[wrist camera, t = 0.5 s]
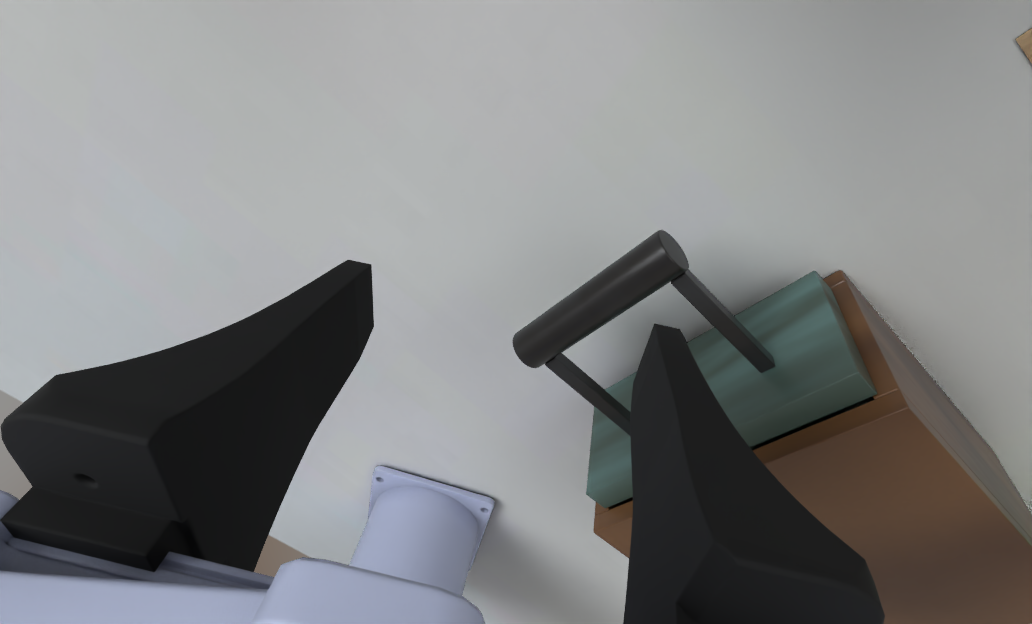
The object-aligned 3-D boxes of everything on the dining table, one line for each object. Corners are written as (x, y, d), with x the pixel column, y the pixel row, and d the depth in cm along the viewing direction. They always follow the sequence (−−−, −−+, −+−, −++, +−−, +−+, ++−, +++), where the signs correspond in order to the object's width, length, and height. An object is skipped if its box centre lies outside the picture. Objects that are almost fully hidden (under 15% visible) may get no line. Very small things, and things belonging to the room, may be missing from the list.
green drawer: (494, 310, 26) (463, 401, 22) (707, 145, 20) (725, 225, 15) (744, 521, 32) (760, 627, 28) (965, 445, 26) (1033, 565, 22)
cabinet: (603, 400, 30) (593, 532, 24) (840, 268, 23) (908, 407, 17) (756, 530, 34) (779, 669, 28) (994, 451, 27) (1091, 613, 21)
